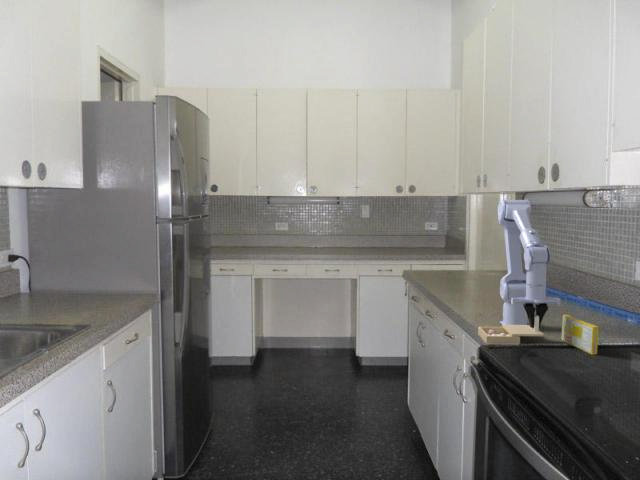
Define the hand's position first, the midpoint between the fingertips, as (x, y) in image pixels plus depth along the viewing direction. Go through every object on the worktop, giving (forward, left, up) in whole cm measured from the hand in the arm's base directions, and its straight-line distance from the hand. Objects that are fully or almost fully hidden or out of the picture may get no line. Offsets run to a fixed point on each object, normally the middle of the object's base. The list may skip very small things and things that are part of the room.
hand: (534, 327), depth 172 cm
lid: (0, -4, -1) cm, 4 cm away
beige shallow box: (0, -11, -4) cm, 12 cm away
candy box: (+7, +11, -4) cm, 14 cm away
